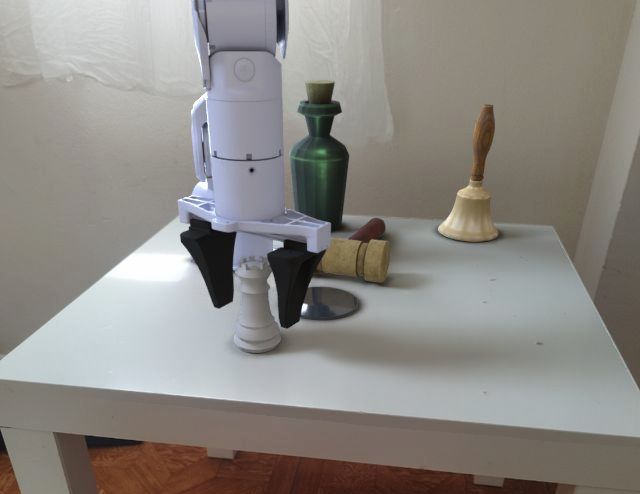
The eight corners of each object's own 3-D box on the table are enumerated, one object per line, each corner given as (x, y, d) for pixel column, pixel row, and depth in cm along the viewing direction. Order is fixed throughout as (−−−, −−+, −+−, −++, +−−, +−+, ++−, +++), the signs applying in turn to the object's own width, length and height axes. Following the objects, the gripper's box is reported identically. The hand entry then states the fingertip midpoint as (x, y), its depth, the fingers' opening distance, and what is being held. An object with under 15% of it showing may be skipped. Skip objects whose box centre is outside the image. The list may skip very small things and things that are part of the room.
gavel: (348, 201, 86) (419, 209, 83) (346, 235, 88) (415, 243, 86) (295, 236, 69) (383, 246, 66) (295, 276, 71) (379, 288, 68)
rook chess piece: (237, 332, 59) (231, 251, 55) (283, 333, 59) (280, 252, 55) (230, 354, 56) (223, 269, 51) (279, 355, 56) (276, 270, 51)
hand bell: (509, 232, 86) (532, 104, 77) (479, 246, 81) (501, 111, 72) (457, 220, 90) (474, 98, 81) (426, 233, 85) (440, 104, 76)
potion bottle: (329, 237, 83) (331, 87, 73) (279, 227, 87) (275, 82, 76) (357, 222, 89) (363, 80, 79) (309, 213, 92) (309, 76, 82)
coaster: (267, 307, 64) (267, 305, 64) (309, 283, 70) (309, 281, 70) (332, 326, 61) (332, 323, 61) (371, 299, 66) (371, 297, 66)
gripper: (143, 150, 48) (166, 310, 56) (294, 175, 42) (296, 351, 50) (203, 137, 53) (216, 286, 61) (346, 158, 47) (341, 320, 55)
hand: (255, 314), depth 56 cm, fingers open, 7 cm apart
